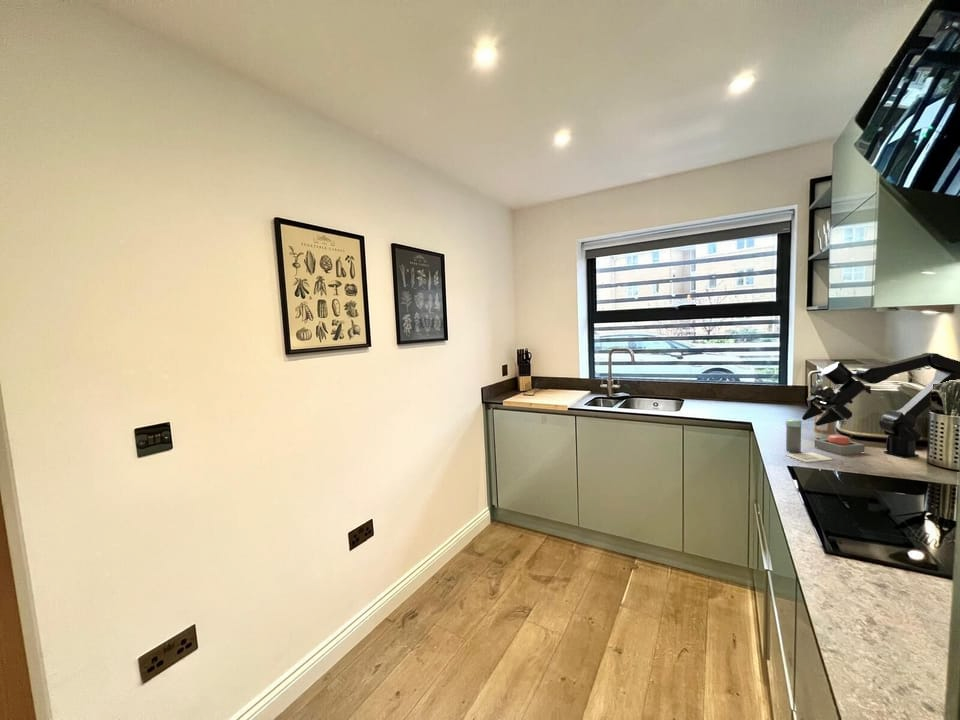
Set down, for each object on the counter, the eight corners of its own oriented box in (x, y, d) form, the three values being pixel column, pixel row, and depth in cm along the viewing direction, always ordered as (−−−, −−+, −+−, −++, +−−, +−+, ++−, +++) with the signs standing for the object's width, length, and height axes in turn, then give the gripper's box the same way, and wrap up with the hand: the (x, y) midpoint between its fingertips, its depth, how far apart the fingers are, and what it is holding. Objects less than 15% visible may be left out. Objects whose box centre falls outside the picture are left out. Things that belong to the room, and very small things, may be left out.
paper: (833, 459, 141) (833, 458, 141) (805, 462, 139) (805, 461, 139) (811, 453, 149) (811, 452, 149) (785, 455, 147) (785, 454, 147)
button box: (864, 452, 146) (864, 444, 146) (841, 455, 145) (841, 447, 145) (836, 445, 156) (836, 437, 156) (814, 447, 155) (814, 439, 155)
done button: (854, 447, 148) (854, 438, 148) (840, 448, 147) (840, 439, 147) (837, 443, 154) (837, 434, 154) (824, 444, 153) (824, 435, 153)
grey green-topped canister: (804, 452, 150) (804, 421, 149) (793, 453, 149) (793, 422, 148) (793, 449, 154) (793, 418, 153) (782, 450, 153) (783, 419, 153)
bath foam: (810, 437, 167) (811, 391, 166) (818, 435, 171) (819, 389, 169) (831, 441, 161) (832, 393, 160) (839, 438, 164) (840, 391, 163)
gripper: (813, 375, 156) (780, 402, 159) (842, 381, 138) (804, 412, 141) (836, 395, 154) (802, 422, 158) (869, 404, 136) (830, 434, 140)
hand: (809, 422), depth 149 cm, fingers open, 9 cm apart
